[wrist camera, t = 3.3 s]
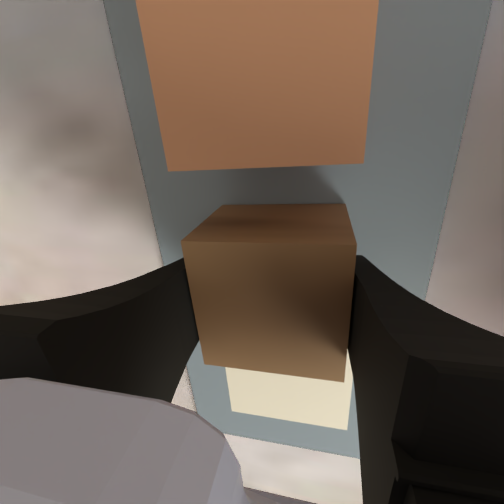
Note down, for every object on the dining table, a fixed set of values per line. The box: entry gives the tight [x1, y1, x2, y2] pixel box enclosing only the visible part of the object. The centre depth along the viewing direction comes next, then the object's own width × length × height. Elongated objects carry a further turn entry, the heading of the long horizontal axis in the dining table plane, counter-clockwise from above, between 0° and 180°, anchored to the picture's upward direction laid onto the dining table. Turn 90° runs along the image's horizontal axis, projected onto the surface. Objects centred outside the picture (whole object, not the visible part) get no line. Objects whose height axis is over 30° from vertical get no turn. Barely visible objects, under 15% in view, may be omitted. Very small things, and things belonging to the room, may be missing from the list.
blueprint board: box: [103, 0, 492, 459], centre depth 13 cm, size 24×12×1 cm, turn 4°
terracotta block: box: [135, 0, 379, 172], centre depth 8 cm, size 5×5×4 cm
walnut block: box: [181, 204, 357, 382], centre depth 11 cm, size 5×5×4 cm
